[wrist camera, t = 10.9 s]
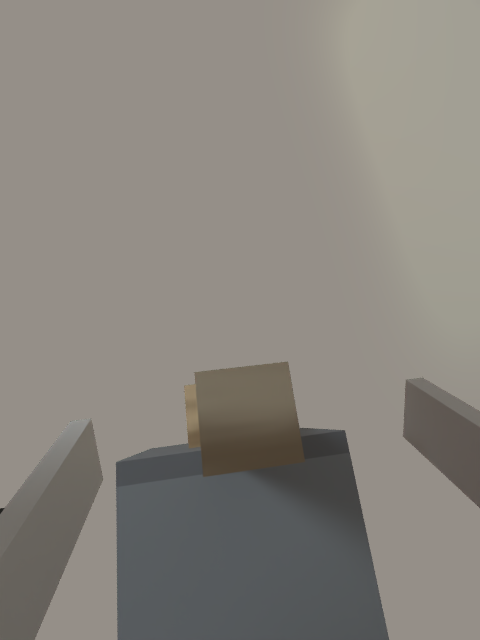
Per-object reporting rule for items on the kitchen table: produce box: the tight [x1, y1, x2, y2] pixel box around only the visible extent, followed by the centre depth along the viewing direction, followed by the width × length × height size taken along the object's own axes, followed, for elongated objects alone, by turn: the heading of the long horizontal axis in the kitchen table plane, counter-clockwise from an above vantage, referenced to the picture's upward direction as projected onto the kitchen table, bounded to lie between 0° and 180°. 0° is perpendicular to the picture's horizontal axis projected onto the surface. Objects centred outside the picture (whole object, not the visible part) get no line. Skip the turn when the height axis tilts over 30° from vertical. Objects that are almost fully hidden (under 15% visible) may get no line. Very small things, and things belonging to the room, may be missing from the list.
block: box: [184, 362, 305, 477], centre depth 22 cm, size 23×7×5 cm, turn 4°
